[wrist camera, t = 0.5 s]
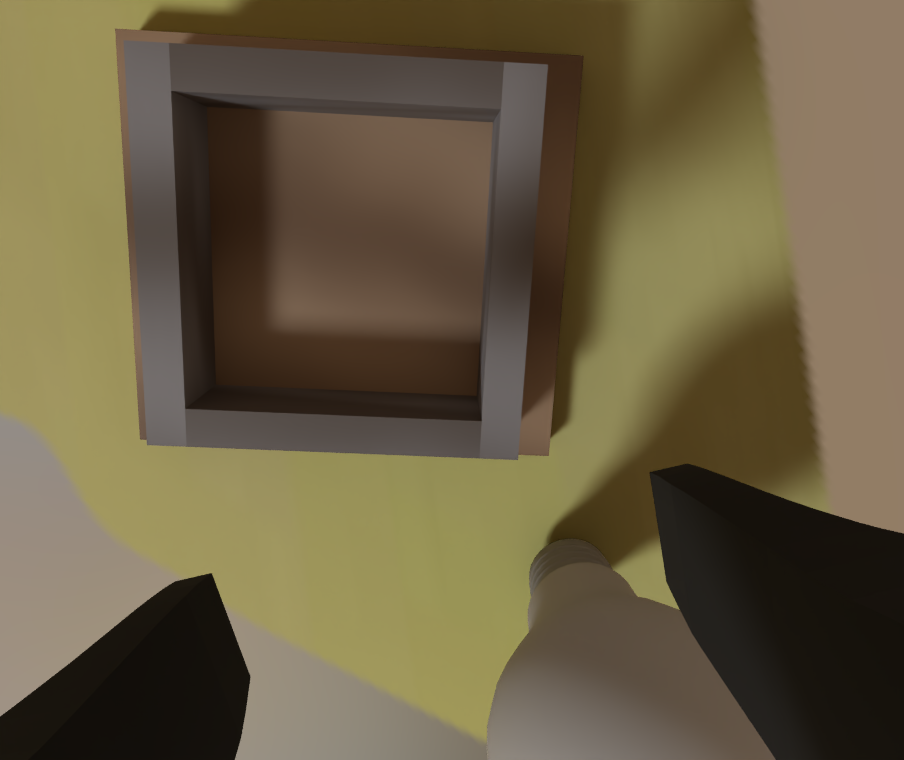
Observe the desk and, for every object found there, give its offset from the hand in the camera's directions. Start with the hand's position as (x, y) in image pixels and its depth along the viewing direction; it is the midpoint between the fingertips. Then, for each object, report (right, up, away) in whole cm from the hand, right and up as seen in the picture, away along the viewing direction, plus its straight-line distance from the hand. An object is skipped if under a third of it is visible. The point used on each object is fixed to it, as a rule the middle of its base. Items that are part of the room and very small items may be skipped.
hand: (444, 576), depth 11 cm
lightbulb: (+4, -3, +12) cm, 13 cm away
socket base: (-3, +7, +9) cm, 12 cm away
